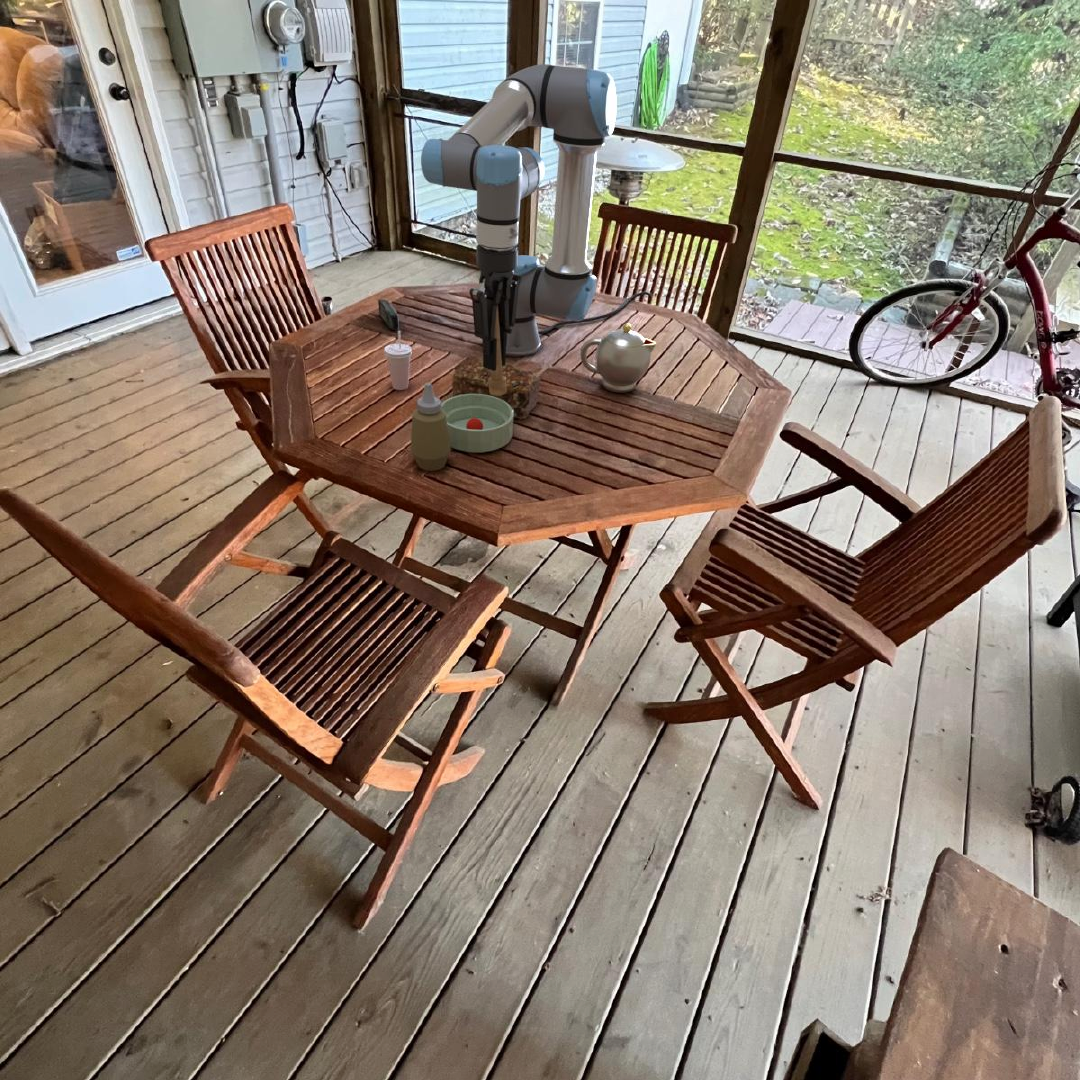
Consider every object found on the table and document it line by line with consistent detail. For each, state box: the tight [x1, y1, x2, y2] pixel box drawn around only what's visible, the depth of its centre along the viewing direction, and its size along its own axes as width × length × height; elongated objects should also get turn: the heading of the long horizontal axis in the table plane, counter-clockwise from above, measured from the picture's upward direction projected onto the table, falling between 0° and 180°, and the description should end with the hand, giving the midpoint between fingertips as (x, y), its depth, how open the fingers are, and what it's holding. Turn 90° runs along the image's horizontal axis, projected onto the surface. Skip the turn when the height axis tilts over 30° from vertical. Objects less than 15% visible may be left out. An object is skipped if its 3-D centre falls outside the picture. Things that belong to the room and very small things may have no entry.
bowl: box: [441, 394, 514, 454], centre depth 150 cm, size 16×16×6 cm
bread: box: [451, 356, 541, 420], centre depth 160 cm, size 19×11×10 cm, turn 71°
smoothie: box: [383, 331, 413, 391], centre depth 162 cm, size 6×6×14 cm
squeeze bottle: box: [410, 382, 452, 472], centre depth 136 cm, size 8×8×18 cm
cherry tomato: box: [466, 418, 483, 430], centre depth 149 cm, size 4×4×4 cm
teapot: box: [579, 323, 657, 394], centre depth 170 cm, size 18×14×16 cm
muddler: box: [488, 305, 507, 396], centre depth 136 cm, size 4×4×20 cm
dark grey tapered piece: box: [377, 299, 402, 334], centre depth 193 cm, size 5×3×15 cm
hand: (494, 365), depth 139 cm, fingers closed on muddler, 2 cm apart
